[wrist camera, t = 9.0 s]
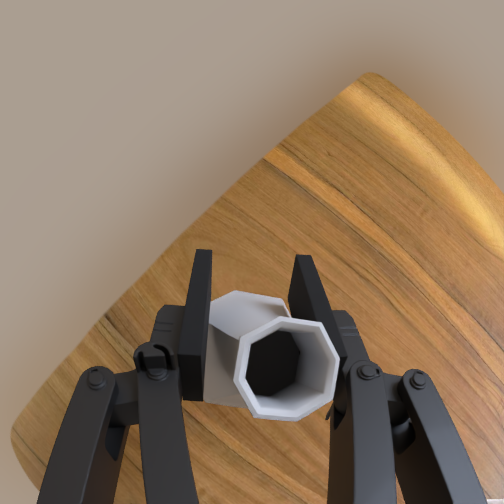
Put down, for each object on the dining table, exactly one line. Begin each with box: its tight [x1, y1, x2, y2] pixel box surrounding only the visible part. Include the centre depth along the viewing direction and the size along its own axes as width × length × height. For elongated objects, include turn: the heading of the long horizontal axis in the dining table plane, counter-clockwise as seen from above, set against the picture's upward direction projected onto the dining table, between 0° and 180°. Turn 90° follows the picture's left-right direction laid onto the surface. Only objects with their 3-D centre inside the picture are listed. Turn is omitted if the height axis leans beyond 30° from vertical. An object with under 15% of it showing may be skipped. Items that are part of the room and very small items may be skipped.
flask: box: [203, 290, 340, 421], centre depth 13 cm, size 7×7×10 cm
